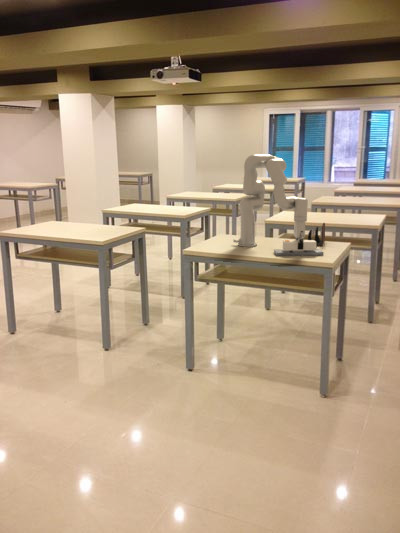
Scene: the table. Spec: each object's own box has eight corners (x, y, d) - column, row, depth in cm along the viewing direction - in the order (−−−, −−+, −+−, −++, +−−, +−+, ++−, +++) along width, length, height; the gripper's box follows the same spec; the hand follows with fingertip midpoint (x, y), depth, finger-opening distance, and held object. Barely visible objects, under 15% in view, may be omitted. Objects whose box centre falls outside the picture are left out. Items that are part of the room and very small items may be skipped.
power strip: (284, 250, 292) (284, 241, 291) (282, 248, 298) (282, 239, 297) (316, 250, 293) (316, 240, 292) (313, 248, 299) (313, 239, 298)
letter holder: (324, 241, 337) (325, 221, 334) (322, 246, 319) (323, 225, 316) (309, 240, 340) (310, 220, 337) (307, 246, 322) (308, 224, 319)
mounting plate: (276, 256, 291) (277, 249, 290) (273, 252, 301) (274, 245, 300) (323, 255, 292) (323, 248, 291) (318, 252, 302) (319, 245, 301)
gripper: (291, 216, 300) (289, 245, 304) (297, 220, 283) (296, 251, 287) (303, 216, 300) (301, 245, 304) (310, 220, 283) (308, 251, 287)
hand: (299, 248), depth 296 cm, fingers closed on power strip, 6 cm apart
